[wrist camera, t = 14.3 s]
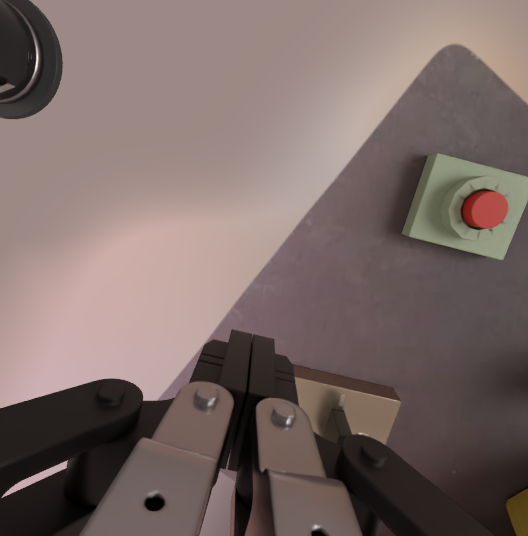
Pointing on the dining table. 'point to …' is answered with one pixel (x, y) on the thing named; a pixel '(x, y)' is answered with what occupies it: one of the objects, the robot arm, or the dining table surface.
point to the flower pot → (519, 512)
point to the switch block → (451, 202)
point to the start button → (485, 209)
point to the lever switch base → (346, 402)
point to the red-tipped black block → (337, 427)
